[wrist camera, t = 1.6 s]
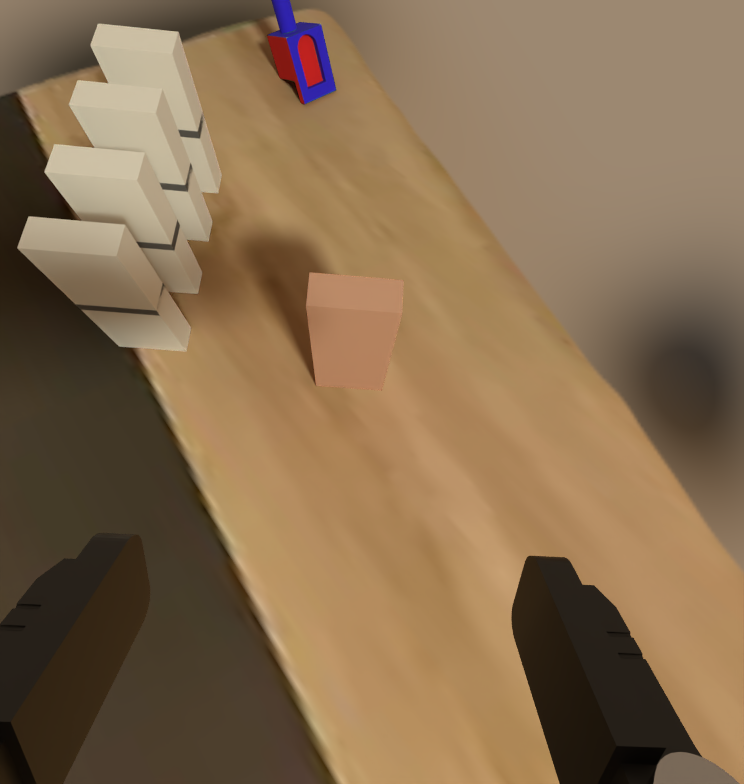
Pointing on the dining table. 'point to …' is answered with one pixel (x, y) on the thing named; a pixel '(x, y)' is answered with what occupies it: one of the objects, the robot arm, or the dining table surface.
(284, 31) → the blue red-paneled block
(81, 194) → the domino
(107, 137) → the domino
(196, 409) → the dining table surface
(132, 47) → the domino
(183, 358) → the dining table surface
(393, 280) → the domino
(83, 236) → the domino
